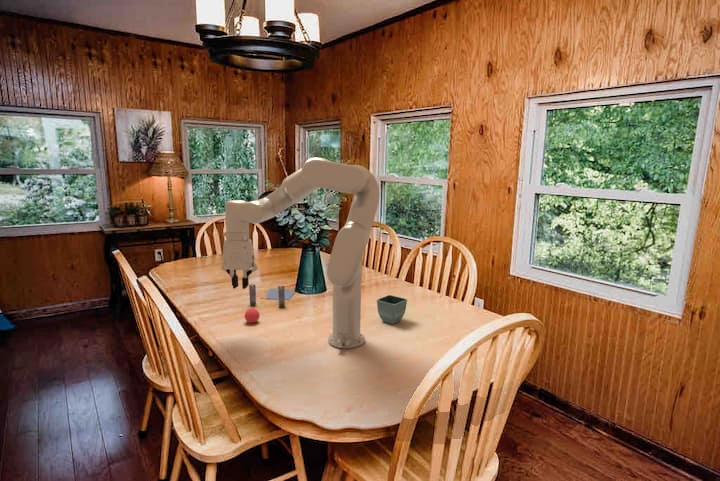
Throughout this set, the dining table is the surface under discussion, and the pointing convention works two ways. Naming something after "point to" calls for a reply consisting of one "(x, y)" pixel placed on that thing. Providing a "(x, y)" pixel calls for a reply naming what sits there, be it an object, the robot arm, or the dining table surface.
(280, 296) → the post right
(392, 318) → the flower pot
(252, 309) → the ball
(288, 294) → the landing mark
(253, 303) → the post left
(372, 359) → the dining table surface
